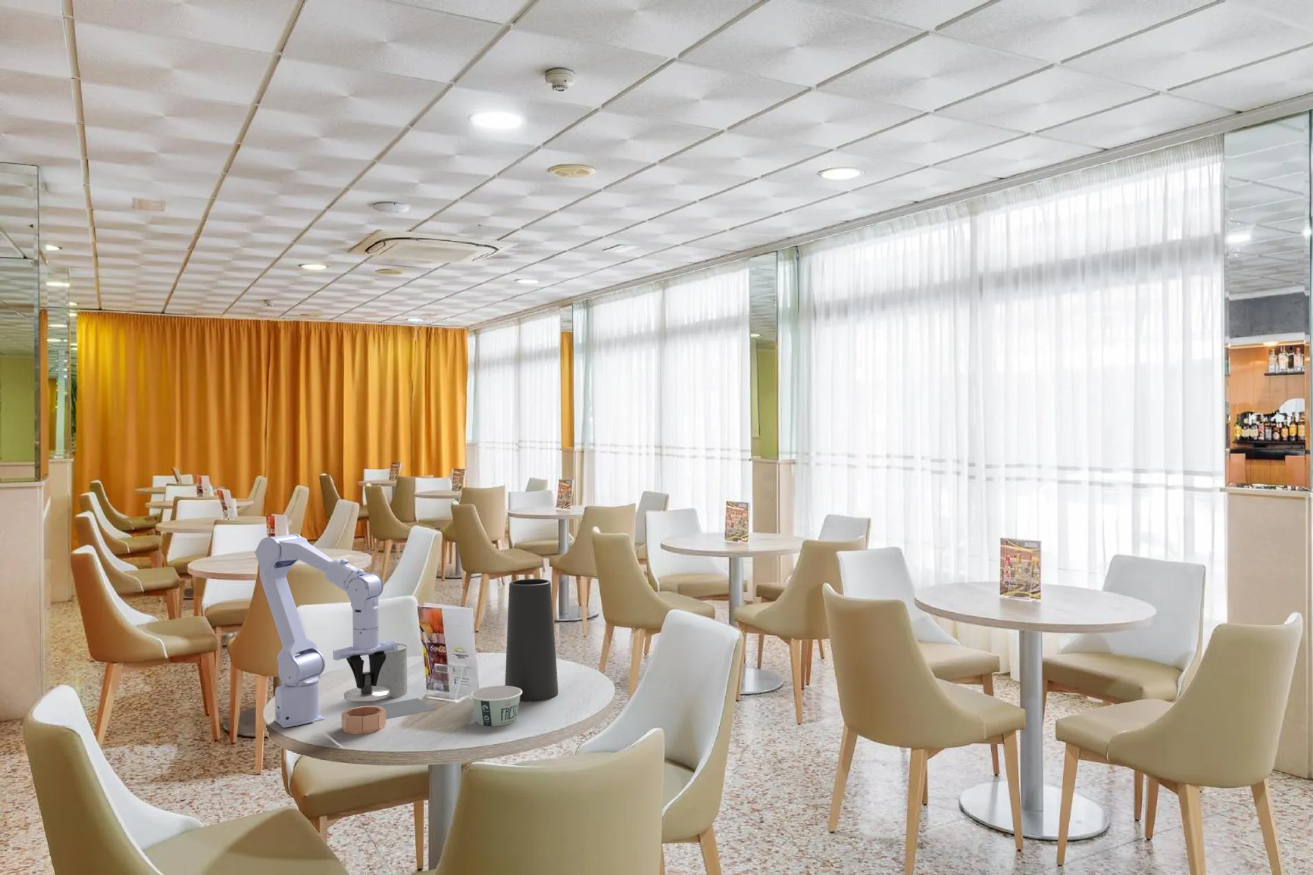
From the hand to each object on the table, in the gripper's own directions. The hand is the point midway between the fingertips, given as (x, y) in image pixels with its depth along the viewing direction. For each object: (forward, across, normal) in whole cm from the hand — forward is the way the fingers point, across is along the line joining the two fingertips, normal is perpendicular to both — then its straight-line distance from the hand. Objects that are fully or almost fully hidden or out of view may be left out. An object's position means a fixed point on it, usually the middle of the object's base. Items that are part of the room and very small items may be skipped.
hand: (366, 686), depth 215 cm
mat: (+9, +11, +8) cm, 17 cm away
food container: (+10, +26, -14) cm, 31 cm away
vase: (+10, +43, 0) cm, 44 cm away
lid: (+2, 0, 0) cm, 2 cm away
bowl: (+9, -1, -1) cm, 9 cm away
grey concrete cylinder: (+10, +14, +23) cm, 29 cm away
